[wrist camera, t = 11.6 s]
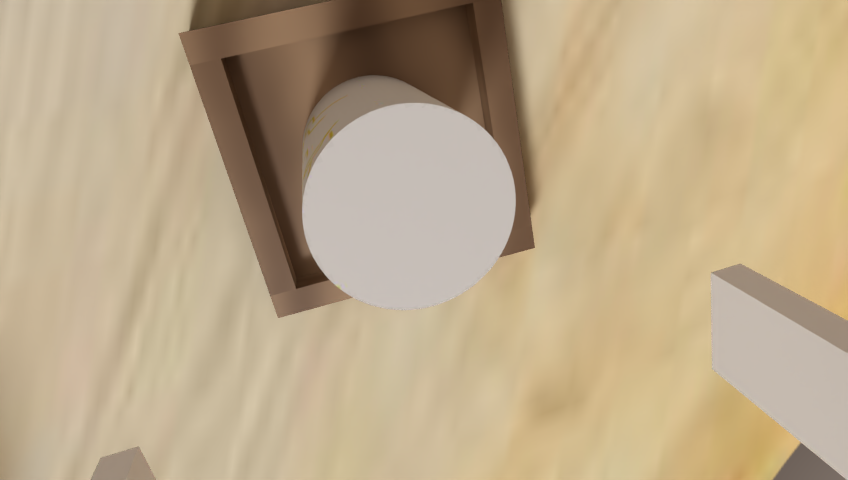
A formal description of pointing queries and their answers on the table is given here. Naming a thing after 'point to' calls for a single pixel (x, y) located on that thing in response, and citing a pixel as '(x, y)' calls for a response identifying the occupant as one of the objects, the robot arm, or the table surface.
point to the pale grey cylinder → (402, 194)
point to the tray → (313, 78)
